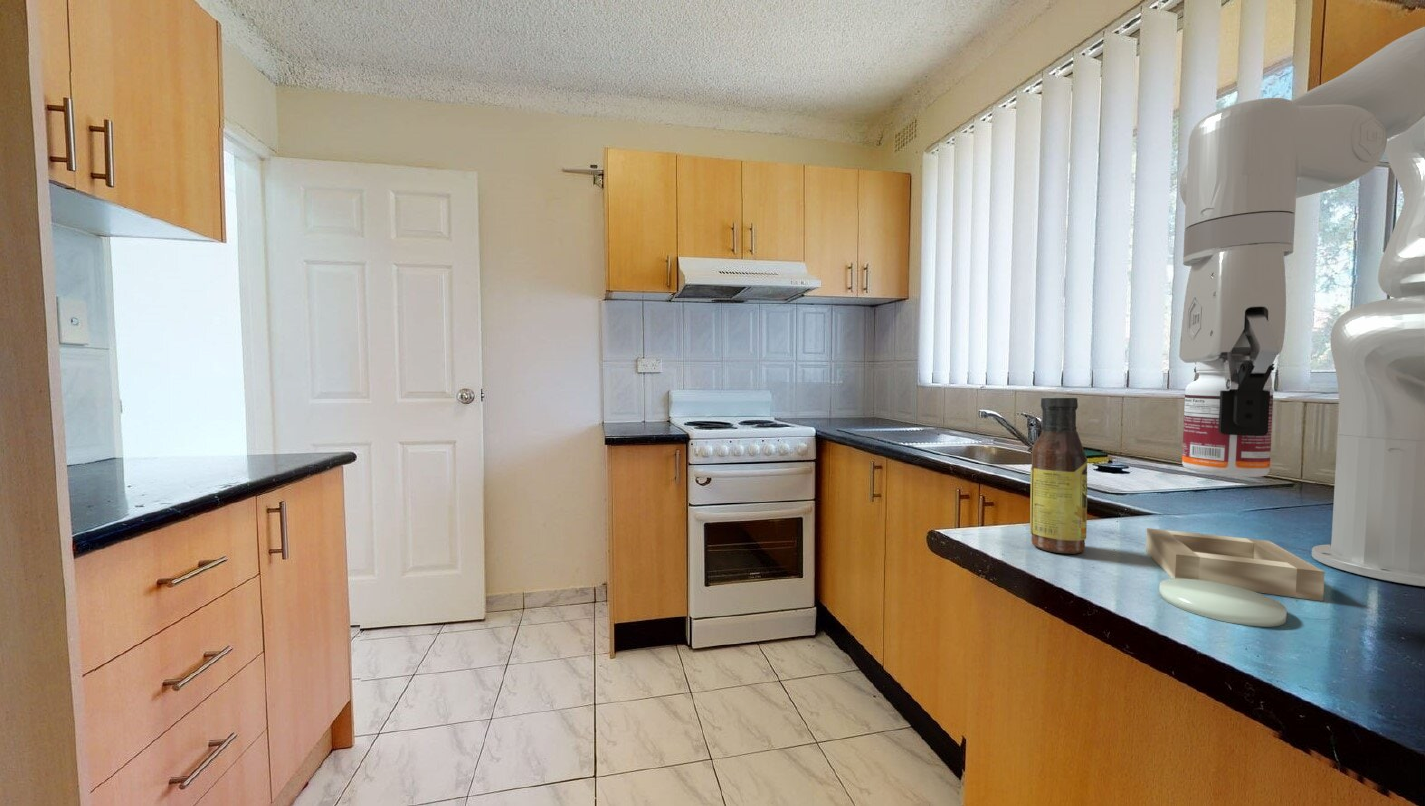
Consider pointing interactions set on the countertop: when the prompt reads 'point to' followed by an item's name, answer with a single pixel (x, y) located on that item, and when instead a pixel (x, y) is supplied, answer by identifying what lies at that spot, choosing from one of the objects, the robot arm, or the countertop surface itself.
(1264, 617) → the saucer
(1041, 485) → the sauce bottle
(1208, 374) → the pill bottle
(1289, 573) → the wooden square frame
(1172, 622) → the countertop surface
